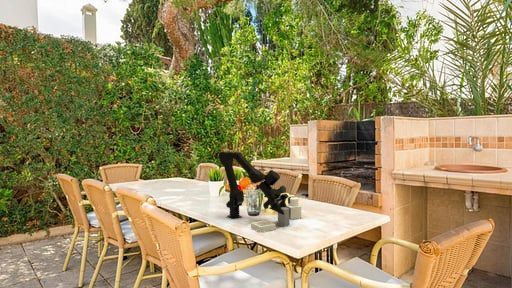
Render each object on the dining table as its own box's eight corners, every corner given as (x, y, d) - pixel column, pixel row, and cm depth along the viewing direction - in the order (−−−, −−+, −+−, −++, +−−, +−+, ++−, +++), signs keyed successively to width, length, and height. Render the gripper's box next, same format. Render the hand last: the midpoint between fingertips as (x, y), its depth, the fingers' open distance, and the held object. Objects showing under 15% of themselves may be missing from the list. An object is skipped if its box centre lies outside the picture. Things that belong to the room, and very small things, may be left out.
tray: (251, 228, 182) (250, 223, 182) (265, 225, 187) (265, 220, 187) (260, 232, 174) (260, 227, 174) (275, 229, 179) (275, 224, 179)
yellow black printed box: (284, 216, 205) (284, 196, 205) (295, 215, 208) (295, 195, 207) (290, 219, 199) (290, 198, 198) (301, 218, 201) (301, 197, 201)
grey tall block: (277, 225, 187) (277, 208, 186) (282, 223, 191) (281, 206, 190) (285, 226, 184) (285, 209, 184) (289, 224, 188) (289, 207, 188)
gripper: (267, 183, 181) (286, 207, 175) (285, 179, 196) (303, 200, 191) (255, 197, 186) (273, 220, 180) (273, 191, 201) (290, 213, 195)
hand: (285, 213), depth 186 cm, fingers closed on grey tall block, 4 cm apart
